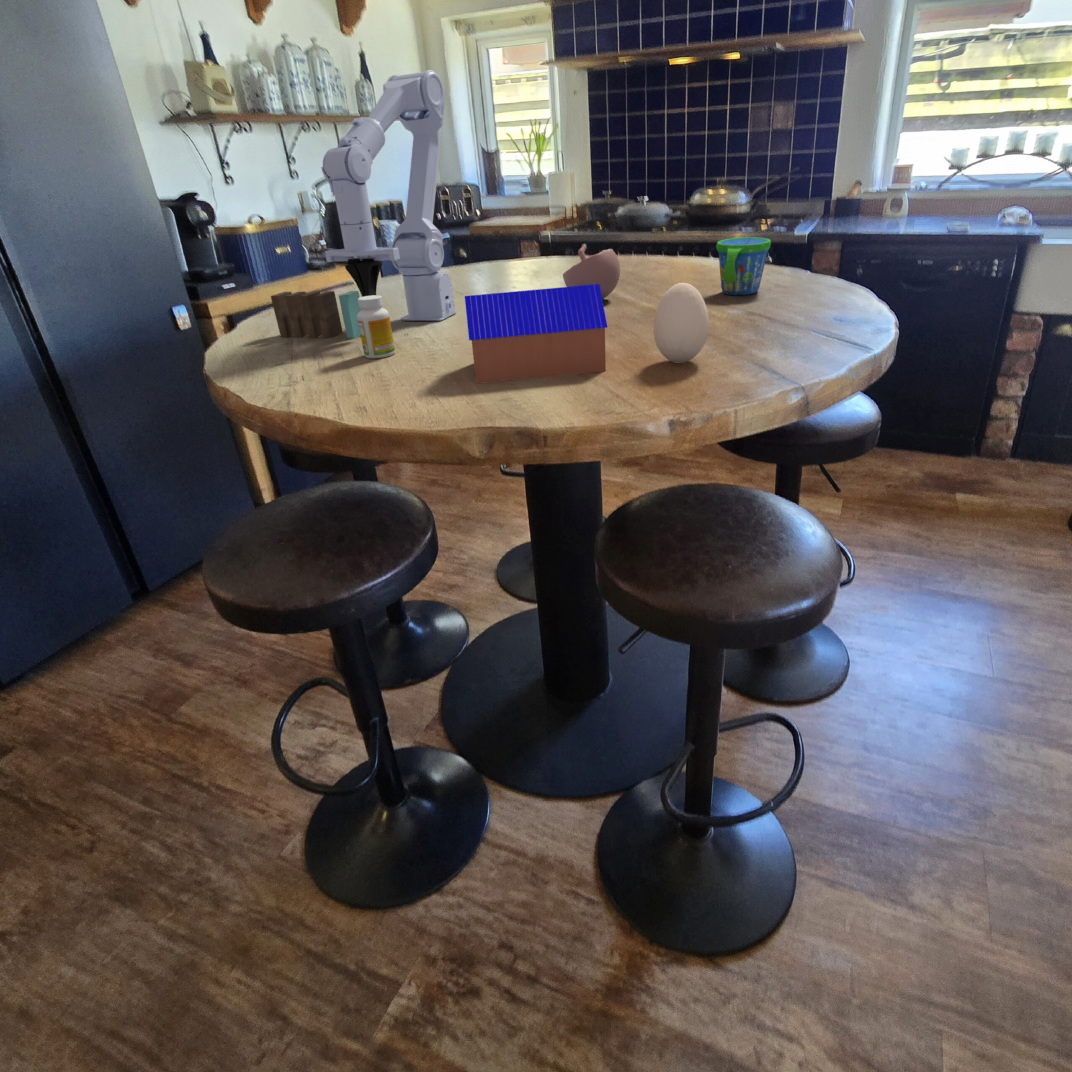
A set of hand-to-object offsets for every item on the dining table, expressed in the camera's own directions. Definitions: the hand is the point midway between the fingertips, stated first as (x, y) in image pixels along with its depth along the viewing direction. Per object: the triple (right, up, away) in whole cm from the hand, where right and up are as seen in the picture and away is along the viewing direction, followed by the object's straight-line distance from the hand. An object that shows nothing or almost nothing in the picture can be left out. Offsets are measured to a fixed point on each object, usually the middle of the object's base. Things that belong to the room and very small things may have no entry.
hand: (370, 301), depth 130 cm
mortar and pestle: (+44, +6, +18) cm, 48 cm away
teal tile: (-4, -5, +5) cm, 8 cm away
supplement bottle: (+4, -13, -10) cm, 17 cm away
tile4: (-15, -4, +9) cm, 18 cm away
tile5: (-19, -3, +10) cm, 21 cm away
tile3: (-12, -4, +8) cm, 15 cm away
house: (+32, -19, -23) cm, 43 cm away
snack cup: (+74, +7, +15) cm, 76 cm away
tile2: (-9, -5, +6) cm, 12 cm away
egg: (+53, -19, -27) cm, 62 cm away
